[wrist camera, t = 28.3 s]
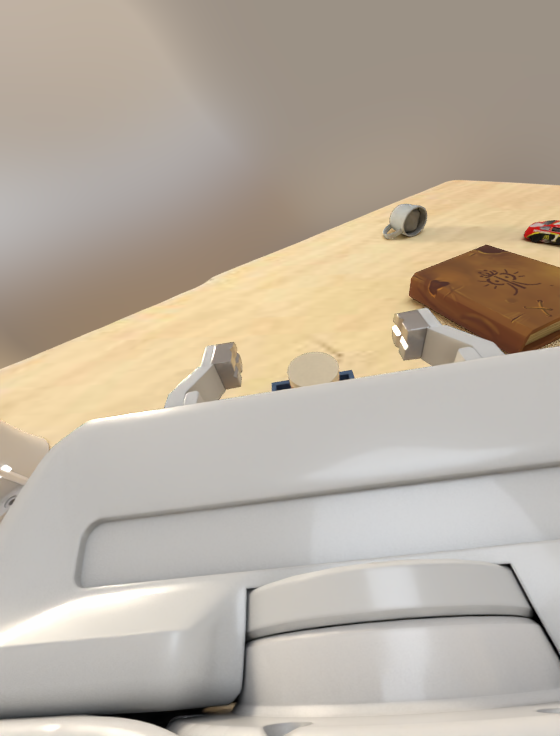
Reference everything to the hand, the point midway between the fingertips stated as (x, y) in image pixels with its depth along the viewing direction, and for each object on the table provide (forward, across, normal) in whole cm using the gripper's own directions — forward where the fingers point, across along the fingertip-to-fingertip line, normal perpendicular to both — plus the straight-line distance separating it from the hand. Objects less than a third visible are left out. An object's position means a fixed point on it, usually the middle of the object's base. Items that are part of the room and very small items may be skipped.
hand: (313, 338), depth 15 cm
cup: (+12, 0, +25) cm, 28 cm away
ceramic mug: (+76, -34, +26) cm, 87 cm away
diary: (+33, -36, +26) cm, 55 cm away
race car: (+54, -62, +26) cm, 86 cm away
